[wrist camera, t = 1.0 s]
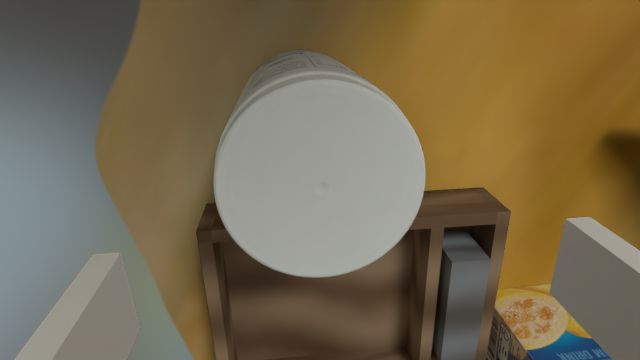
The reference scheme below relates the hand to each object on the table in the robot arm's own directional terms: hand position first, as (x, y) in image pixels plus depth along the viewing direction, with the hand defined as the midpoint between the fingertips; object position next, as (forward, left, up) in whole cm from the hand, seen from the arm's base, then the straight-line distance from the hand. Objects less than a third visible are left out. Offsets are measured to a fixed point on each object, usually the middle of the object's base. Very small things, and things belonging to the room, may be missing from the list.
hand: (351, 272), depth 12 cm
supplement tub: (0, 0, -21) cm, 21 cm away
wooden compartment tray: (+15, +3, -21) cm, 26 cm away
